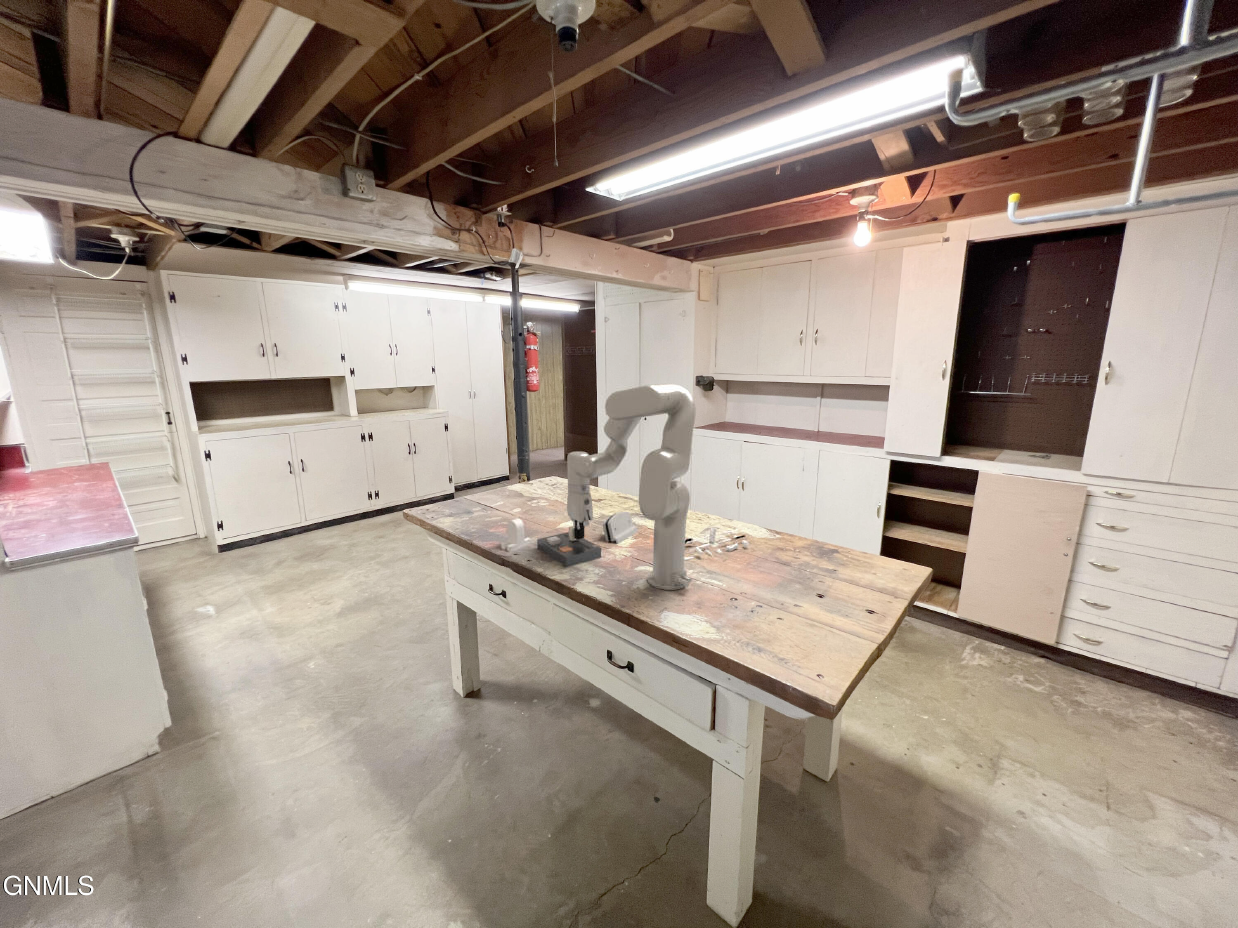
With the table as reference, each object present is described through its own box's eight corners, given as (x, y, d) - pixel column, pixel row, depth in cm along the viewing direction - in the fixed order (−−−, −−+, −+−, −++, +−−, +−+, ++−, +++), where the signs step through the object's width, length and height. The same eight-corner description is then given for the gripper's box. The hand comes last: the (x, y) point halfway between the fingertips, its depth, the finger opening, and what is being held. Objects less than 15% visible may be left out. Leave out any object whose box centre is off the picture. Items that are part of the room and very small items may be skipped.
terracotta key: (573, 556, 161) (572, 549, 161) (564, 558, 159) (564, 551, 159) (567, 552, 164) (567, 546, 164) (558, 555, 162) (558, 548, 161)
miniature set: (735, 534, 184) (756, 550, 174) (657, 554, 170) (674, 572, 160) (737, 520, 182) (758, 535, 172) (658, 538, 168) (676, 556, 158)
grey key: (560, 545, 167) (560, 539, 167) (552, 548, 165) (552, 541, 165) (555, 542, 170) (555, 536, 169) (547, 545, 168) (547, 538, 167)
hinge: (617, 544, 175) (609, 518, 175) (607, 546, 178) (599, 520, 177) (638, 530, 189) (631, 507, 189) (628, 532, 192) (621, 509, 192)
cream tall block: (580, 538, 170) (579, 527, 169) (572, 540, 168) (572, 529, 167) (576, 536, 171) (576, 525, 171) (568, 538, 170) (568, 527, 169)
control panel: (601, 557, 164) (601, 547, 163) (566, 567, 155) (566, 557, 154) (570, 540, 179) (570, 531, 178) (537, 548, 171) (537, 539, 170)
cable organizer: (531, 543, 175) (530, 517, 173) (510, 551, 168) (508, 525, 166) (521, 540, 179) (520, 515, 176) (500, 548, 171) (499, 521, 169)
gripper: (600, 490, 159) (600, 542, 163) (576, 481, 171) (576, 530, 175) (581, 494, 155) (582, 547, 159) (558, 485, 166) (559, 534, 170)
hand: (579, 538), depth 167 cm, fingers closed
